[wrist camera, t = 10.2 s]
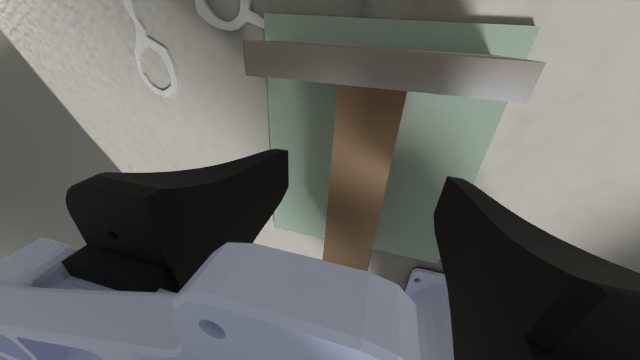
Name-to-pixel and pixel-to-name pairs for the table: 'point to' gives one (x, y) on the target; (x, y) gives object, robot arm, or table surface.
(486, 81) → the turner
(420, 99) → the tool mat
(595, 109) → the table surface
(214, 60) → the table surface
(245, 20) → the scissors
